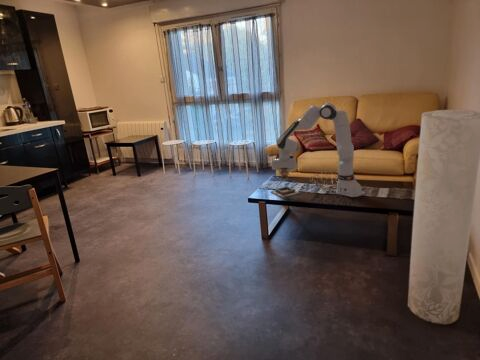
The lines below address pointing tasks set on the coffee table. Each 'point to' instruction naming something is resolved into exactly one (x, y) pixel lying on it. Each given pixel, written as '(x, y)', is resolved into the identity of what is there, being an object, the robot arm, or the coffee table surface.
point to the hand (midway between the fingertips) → (284, 173)
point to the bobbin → (284, 174)
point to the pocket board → (285, 192)
